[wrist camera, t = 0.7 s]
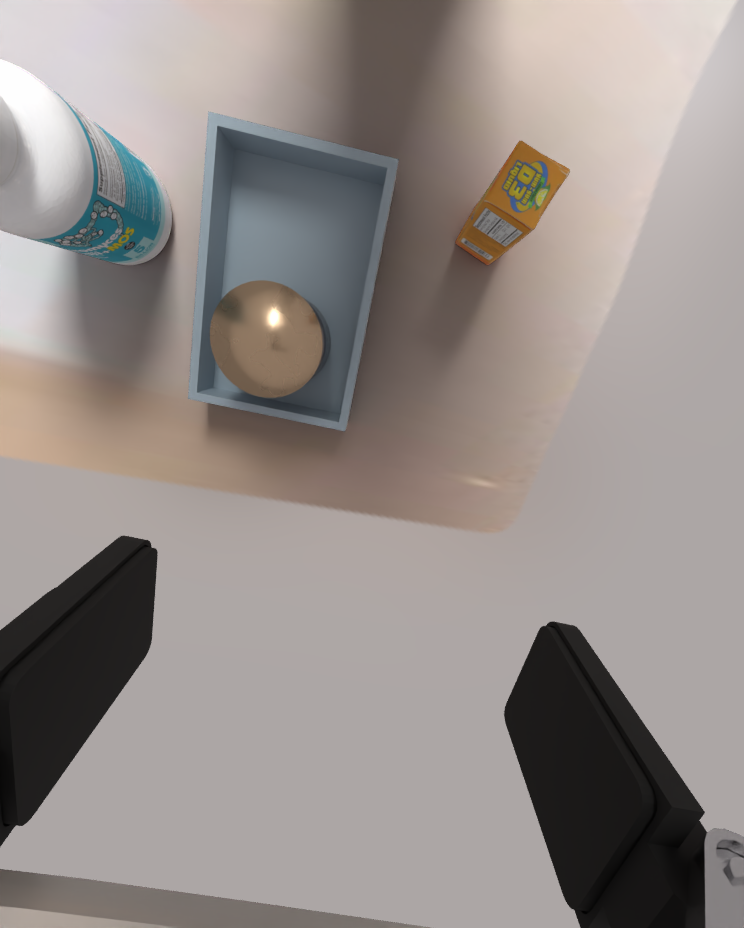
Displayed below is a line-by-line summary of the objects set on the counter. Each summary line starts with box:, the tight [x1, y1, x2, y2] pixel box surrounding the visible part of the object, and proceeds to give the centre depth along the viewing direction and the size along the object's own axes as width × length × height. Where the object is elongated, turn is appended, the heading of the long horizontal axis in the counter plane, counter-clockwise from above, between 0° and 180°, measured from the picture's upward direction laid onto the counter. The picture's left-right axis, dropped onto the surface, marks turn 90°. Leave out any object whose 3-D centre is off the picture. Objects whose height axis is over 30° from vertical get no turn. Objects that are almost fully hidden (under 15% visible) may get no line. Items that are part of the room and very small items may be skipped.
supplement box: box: [455, 141, 570, 265], centre depth 25 cm, size 3×4×10 cm
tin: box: [210, 280, 331, 398], centre depth 29 cm, size 7×7×6 cm
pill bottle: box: [0, 59, 172, 265], centre depth 23 cm, size 8×7×14 cm
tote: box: [188, 112, 399, 431], centre depth 29 cm, size 18×12×4 cm, turn 168°
